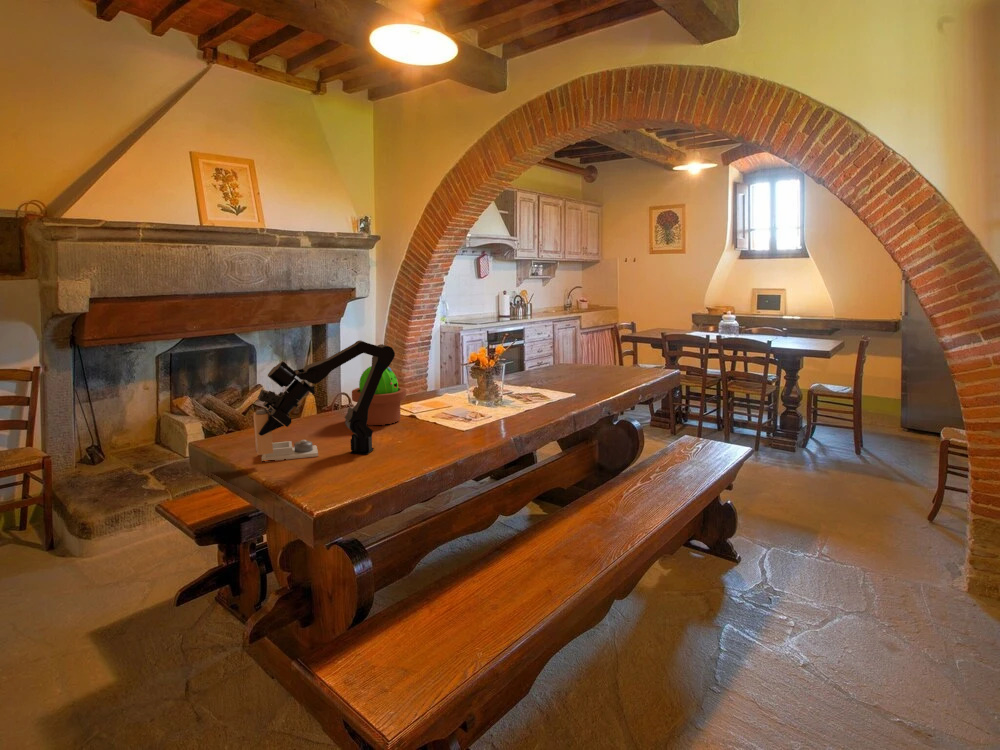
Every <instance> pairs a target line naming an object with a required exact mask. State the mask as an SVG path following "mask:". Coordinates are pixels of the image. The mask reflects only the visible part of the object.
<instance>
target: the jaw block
mask: <svg viewBox="0 0 1000 750" xmlns="http://www.w3.org/2000/svg"><path fill="white" fill-rule="evenodd" d="M268 413H269V412H268V410H264V409H258V410H255V412H253V425H254V440H255V452H256V453H257V455H258V456H262V455H263V454H270V453H273V444H272V443H273V432H272V431H271V432H268V433H266V434H264V435H262V436H261V435H259V432H260V431H261V429H262V428H263V426H264V425H265V423H266V422H267V420H268ZM269 414H270V413H269ZM270 415H271V414H270Z"/></svg>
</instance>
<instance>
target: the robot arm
mask: <svg viewBox="0 0 1000 750" xmlns="http://www.w3.org/2000/svg"><path fill="white" fill-rule="evenodd" d="M361 354H365V355H369V356H372V357H371V366H372V367H371V366H370V367H371V370H370V372H369V375H368V377H367V380H366V382H365V385H364V387H363V389H362V392H361V394H360V397H359V399H358V402H356V404H355V405H354V406H353V407H348V409H347V412H346V415H345V416H344V417H343V418H345V420H344V424H345V426H346V427H347V429H349V430H350V431H351V433H352V434H351V438H350V454H351V455H353V454H354V455H368V453H369V454H370V453H371V452H373V451H372V450H373V449H374V450H375V448H374V447H373V437H372V436H373V433H374V431H373V429H371V428H370V427H369V425H367V420H368V409H369V406H370V404H371V402H372V399H373V397H374V394H375V392H376V389H377V387H378V384H379V382H380V379H381V377H382V374H383V372H384V371H385V370H386V369H387V368H388V367H389V366H390V365H391V363H392V362H393V361H394V358H395V356H396V353H395V350H394V349H393V347H391V346H389V345H387V344H384V343H382V344H378V345H377V344H373V343H372V344H371V343H368V342H366V341H363V340H357V341H355V343H353V344H351V345H349V346H347V347H345V348H343V349H342V350H340V351H338V352H337V353H335V354H333V355H331V356H329V357H327V358H325V359H322V360H319V361H315V362H312V363H309V364H306V365H305V366H304V367H303V368H298V369H294V370H293V369H292V367H290V366H289V365H288V364H287V363H286V362H285V361H284V360H281V361H280V362H279V363H278V364H277V365H275V366H273V367H272V369H271V370H270V371H269V372H268V373H267V377H268V378H269V379H270V380H271V381H273V382H275V383H276V385H278V386H279V387H280V388H284V387H286V389H285V390H284V391H280V392H279V393H278V394H277V393H276V392H275V391H271V390H266V389H262V388H261V389H260V391H259V394H258V396H257V399H258V401H260V402H263V404H262V405H263V406H264V407H263V410H268V412H269V413H270V414H271V415H270V414H269V413H268V420H267V422H266V423H265V425H264V426H263V428H262V429H261V431H260V432H259V435H261V436H262V435H264V434H266V433H268V432H271V431H275V430H277V429H279V428H281V427H284V426H285V427H286V428H288V427H289V426H290V425H291V424H292V418H291V417H290V412H291V411H292V410H294V408H297V407H298V406H299V402H301V400H302V399H303V398H305V396H306V395H307V394H308V393H310V394H312V395H313V396H314V395H315V394H316V392H315V386H314V385H313V384H319V383H320V382H321V381H323V380H324V379H325V378H327V376H328V375H329V374H330V373H331V372H333V370H335V369H337V368H339V367H340V366H342V365H344V364H346V363H347V362H350V361H351V360H354V359H355V358H356V357H357V358H358V356H360V355H361ZM296 377H297V378H298V379H297V378H296ZM300 380H301V381H300ZM306 381H307V382H306ZM308 383H309V384H308ZM310 384H312V385H310Z"/></svg>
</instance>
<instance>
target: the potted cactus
mask: <svg viewBox="0 0 1000 750" xmlns="http://www.w3.org/2000/svg"><path fill="white" fill-rule="evenodd" d="M368 366H369V367H367V368H366V369H365V370H363V371H362V373H360V374H361V376H360V378H359V381H358V383H359V384H358V386H359V387H356V388H354V389H352V391H351V400H352V401H353V402H356V403H357V402H358V399H359V397H360V394H361V392H362V389H363V387H364V385H365V382H366V380H367V377H368V375H369V372H370V370H371V367H372V365H371V366H370V365H368ZM406 397H407V396H406V388H405V387H403V386H399V380H398V379H397V376H396V373H395V372H393V369H392V368H391V367H389V366H388V368H387V369H386V370H385V371H384V372H383V374H382V377H381V379H380V382H379V384H378V387H377V389H376V392H375V394H374V397H373V399H372V402H371V404H370V406H369V409H368V420H367V424H368V425H367V426H373V425H382V426H386V425H385V424H390V425H392V424H391V423H394V424H396V423H395V422H397V421H398V422H400V421H401V418H402V417H401V401H404V400H405V399H406ZM399 420H400V421H399ZM398 422H397V423H398Z"/></svg>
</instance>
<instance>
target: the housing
mask: <svg viewBox="0 0 1000 750" xmlns="http://www.w3.org/2000/svg"><path fill="white" fill-rule="evenodd" d="M272 444H273V453H270V454H263V455H261V462H262V461H263V460H275V461H284V459H286V460H295V459H304V458H305V459H306V458H314V457H319V451H318V447H317V444H316V445H315V444H314V445H313V442H312V441H311V440H307V439H301V440H299V441H296V442H294V446H293V442H292V440H288V441H279V442H278V441H277V442H272Z"/></svg>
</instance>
